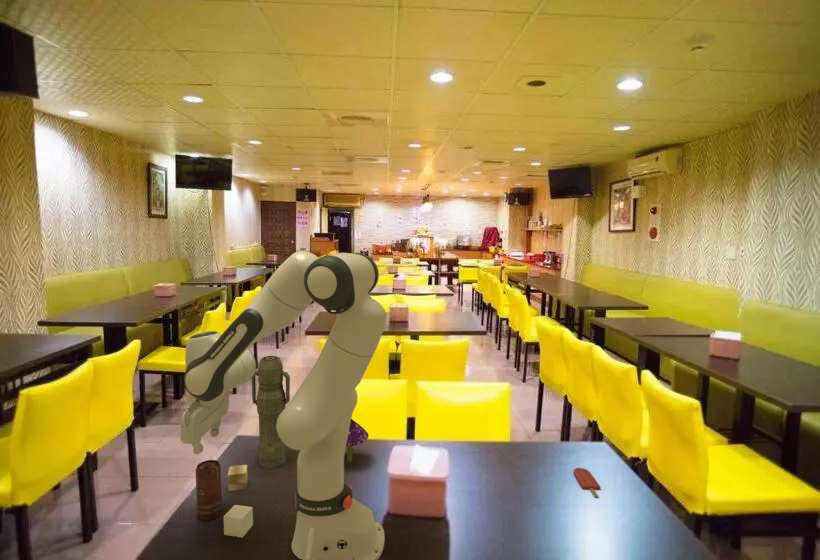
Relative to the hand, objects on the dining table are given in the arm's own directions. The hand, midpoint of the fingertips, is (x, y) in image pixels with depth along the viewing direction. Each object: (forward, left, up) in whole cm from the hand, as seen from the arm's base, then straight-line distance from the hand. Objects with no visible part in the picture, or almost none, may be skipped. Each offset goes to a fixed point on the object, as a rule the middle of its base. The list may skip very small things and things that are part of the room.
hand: (206, 443), depth 122 cm
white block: (-10, +6, -20) cm, 23 cm away
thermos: (-8, -28, -20) cm, 35 cm away
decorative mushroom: (-33, -29, -20) cm, 48 cm away
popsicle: (-107, -19, -20) cm, 111 cm away
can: (0, 0, -20) cm, 20 cm away
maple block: (-2, -14, -20) cm, 24 cm away
